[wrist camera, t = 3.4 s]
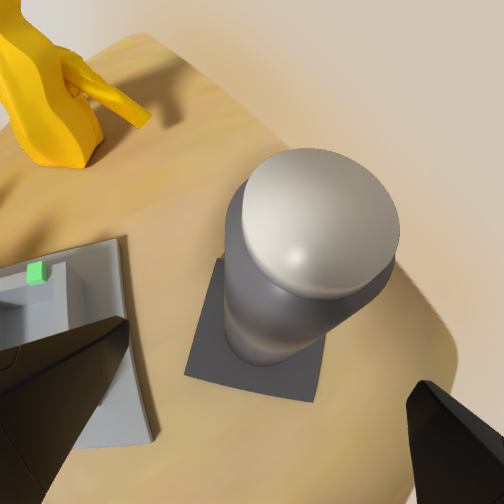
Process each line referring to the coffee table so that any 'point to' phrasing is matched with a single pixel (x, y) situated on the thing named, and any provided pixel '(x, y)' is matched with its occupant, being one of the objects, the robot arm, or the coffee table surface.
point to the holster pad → (237, 371)
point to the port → (72, 316)
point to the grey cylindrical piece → (303, 252)
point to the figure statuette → (53, 94)
